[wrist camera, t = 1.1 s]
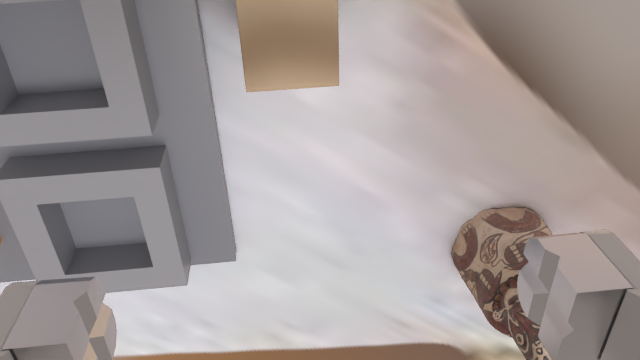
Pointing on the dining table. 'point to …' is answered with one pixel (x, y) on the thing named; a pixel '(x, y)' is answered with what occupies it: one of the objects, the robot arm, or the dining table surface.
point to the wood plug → (289, 43)
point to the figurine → (501, 270)
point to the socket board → (108, 144)
